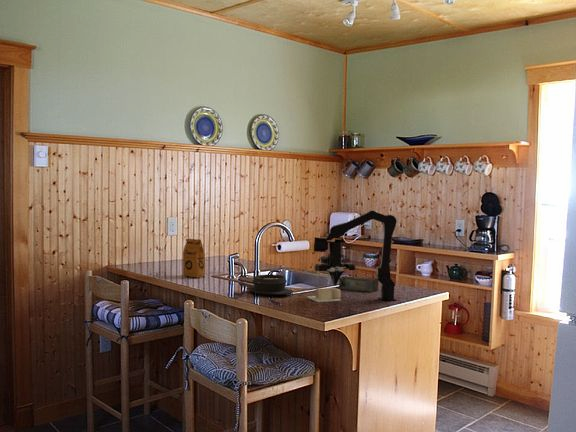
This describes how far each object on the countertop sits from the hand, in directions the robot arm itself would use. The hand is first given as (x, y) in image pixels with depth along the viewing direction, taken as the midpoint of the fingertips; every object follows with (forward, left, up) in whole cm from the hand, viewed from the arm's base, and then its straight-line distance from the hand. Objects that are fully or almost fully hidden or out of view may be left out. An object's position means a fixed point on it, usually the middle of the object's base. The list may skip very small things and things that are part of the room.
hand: (334, 285), depth 260 cm
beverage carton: (+18, -22, -7) cm, 29 cm away
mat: (0, +5, -6) cm, 8 cm away
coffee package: (+80, +50, -6) cm, 95 cm away
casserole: (+20, +25, -6) cm, 33 cm away
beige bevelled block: (0, -2, -4) cm, 4 cm away
